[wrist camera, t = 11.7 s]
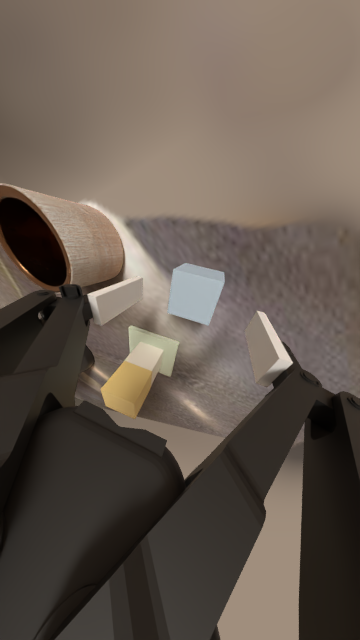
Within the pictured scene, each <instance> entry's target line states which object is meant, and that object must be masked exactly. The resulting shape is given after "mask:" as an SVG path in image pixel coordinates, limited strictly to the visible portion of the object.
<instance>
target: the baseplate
mask: <svg viewBox="0 0 360 640" xmlns="http://www.w3.org/2000/svg"><path fill="white" fill-rule="evenodd" d="M129 346H130V354H129V355H128V357H127V358H126V359H125V360H124V361H127V362H129V363H132V364H135V365H137V366H140V367H142V368H145V369H147V370H150V371H152V380H151V385H152V383H153V381H154V379H155V377H156V375H157V373H158V372H159V373H161V374H164V375H167V376H169V377H171V374H172V370H173V366H174V362H175V358H176V354H177V350H178V346H179V342H178V341H175V340H172V339H169V338H166V337H163V336H161V335H158V334H155V333H152V332H149V331H146V330H143V329H140V328H137V327H134V326H130V327H129Z"/></svg>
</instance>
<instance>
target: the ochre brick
mask: <svg viewBox="0 0 360 640" xmlns="http://www.w3.org/2000/svg"><path fill="white" fill-rule="evenodd" d="M151 380H152V371H150V370H147V369H145V368H142V367H140V366H137V365H135V364H132V363H129V362H127V361H124V362H123V363H122V364H121V366H120V367H119V368H118V369H117V370H116V372H115V373H114V374H113V375H112V376H111V377H110V379H109V380H108V381H107V382H106V383H105V385H104V386H103V387H102V388H101V392H102V395H103V398H104V402H105V405H106V406H107V407H109V408H111V409H113V410H116V411H118V412H120V413H122V414H124V415H127V416H129V417H131V418H133V419H135V418H136V416H137V414H138V412H139V410H140V408H141V406H142V404H143V402H144V400H145V398H146V396H147V394H148V392H149V390H150V388H151Z"/></svg>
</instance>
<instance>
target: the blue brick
mask: <svg viewBox="0 0 360 640" xmlns="http://www.w3.org/2000/svg"><path fill="white" fill-rule="evenodd" d="M224 283H225V279H224V272H221V271H217V270H212V269H208V268H204V267H200V266H196V265H192V264H188V263H185V264H183V265H181V266H179V267H177V268H175V269H173V276H172V283H171V290H170V297H169V304H168V311H167V313H169V314H173V315H176V316H179V317H182V318H185V319H189V320H192V321H195V322H198V323H202V324H205V325H208V326H209V323H210V320H211V317H212V315H213V312H214V309H215V307H216V304H217V301H218V299H219V296H220V293H221V291H222V288H223V285H224Z"/></svg>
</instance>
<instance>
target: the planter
mask: <svg viewBox="0 0 360 640" xmlns="http://www.w3.org/2000/svg"><path fill="white" fill-rule="evenodd" d="M0 244H1V246H2V248H3V249H4V251H5V252H6V254H7V255H8V257H9V258H10V259H11V261H12V262H13V263H14V264H15V266H16V267H17V268H18V269H19V270H20V271H21V272H22V273H23V274H24V275H25V276H26V277H27V278H28V279H29V280H30V281H32V282H33V283H34V284H36V285H37V286H39V287H40V288H42V289H44V290H52V291H54V292H55V293H56V294H60V290H59V286H61V285H65V284H77V285H79V286H81V287H85V286H88V285H92V284H96V283H99V282H103V281H106V280H109V279H112V278H114V277H115V276H117V275H118V274H119V272H120V271H121V268H122V265H123V248H122V243H121V240H120V237H119V235H118V233H117V231H116V229H115V227H114V226H113V224H112V223H111V222H110V221H109V219H108V218H107V217H106V216H105V215H104V214H102V213H101V212H100V211H98V210H96V209H94V208H92V207H90V206H87V205H83V204H79V203H76V202H72V201H68V200H64V199H60V198H56V197H53V196H49V195H45V194H41V193H37V192H34V191H31V190H27V189H23V188H19V187H16V186H12V185H8V184H0Z"/></svg>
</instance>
